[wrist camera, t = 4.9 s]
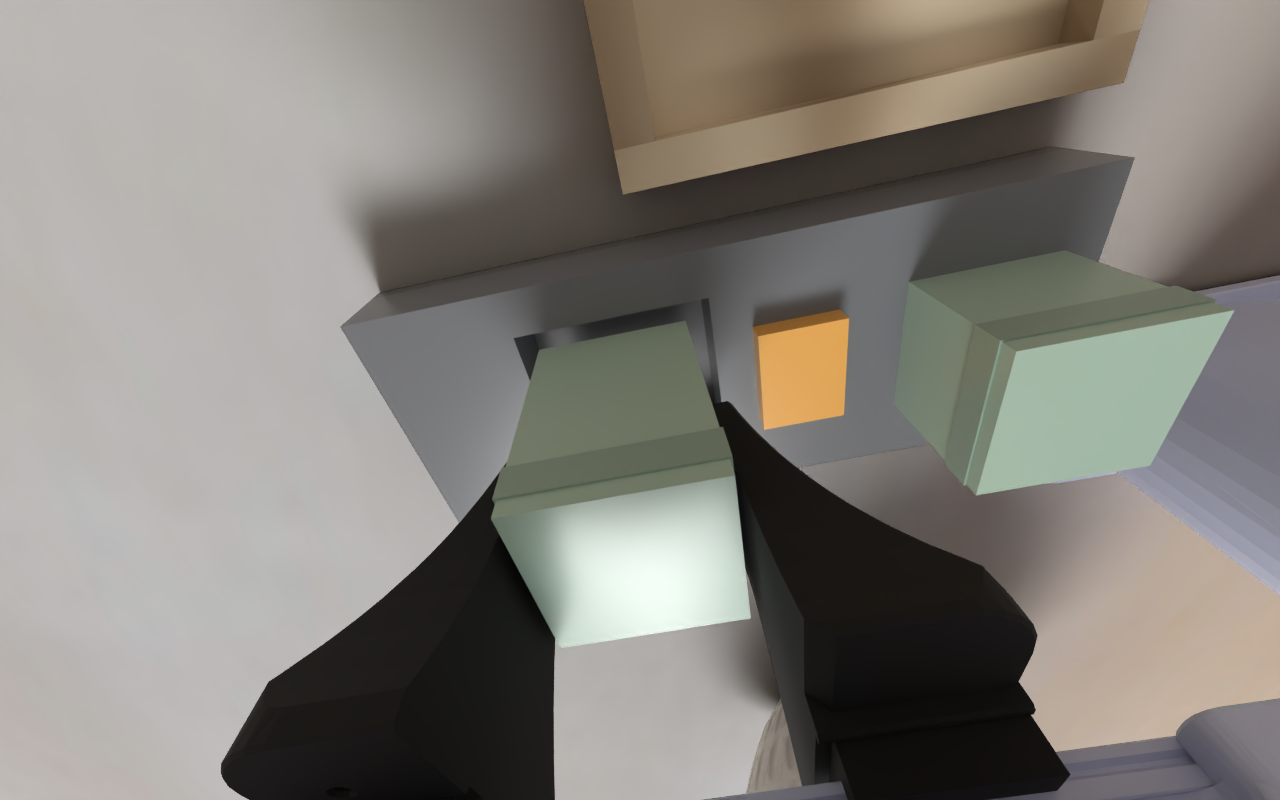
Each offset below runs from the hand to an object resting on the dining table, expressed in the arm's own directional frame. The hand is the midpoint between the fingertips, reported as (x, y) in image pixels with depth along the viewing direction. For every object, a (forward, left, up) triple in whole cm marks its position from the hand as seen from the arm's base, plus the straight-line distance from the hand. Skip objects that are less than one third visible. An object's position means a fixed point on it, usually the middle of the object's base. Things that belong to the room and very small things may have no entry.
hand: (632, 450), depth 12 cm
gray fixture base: (-3, 0, -5) cm, 6 cm away
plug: (0, 0, -2) cm, 2 cm away
